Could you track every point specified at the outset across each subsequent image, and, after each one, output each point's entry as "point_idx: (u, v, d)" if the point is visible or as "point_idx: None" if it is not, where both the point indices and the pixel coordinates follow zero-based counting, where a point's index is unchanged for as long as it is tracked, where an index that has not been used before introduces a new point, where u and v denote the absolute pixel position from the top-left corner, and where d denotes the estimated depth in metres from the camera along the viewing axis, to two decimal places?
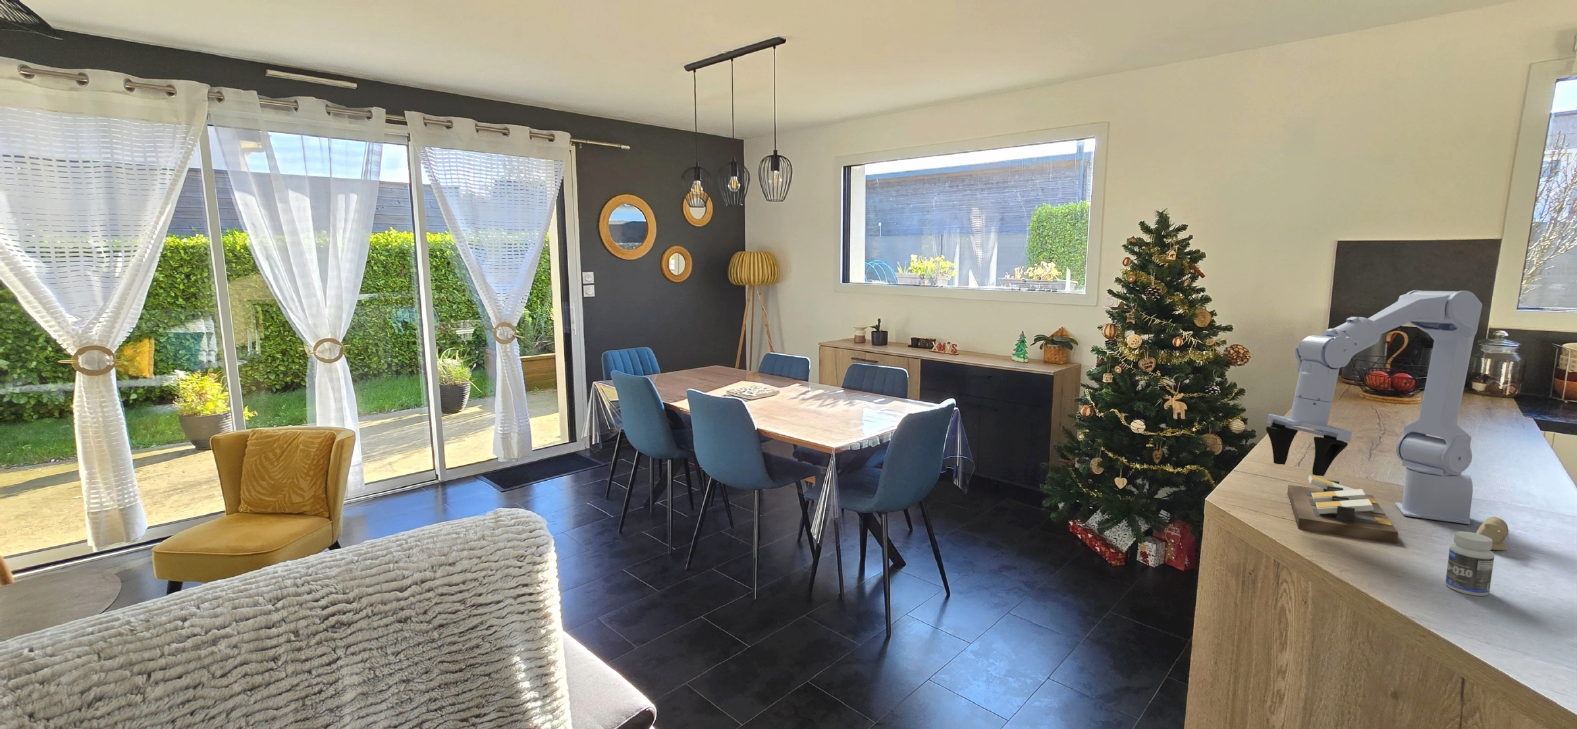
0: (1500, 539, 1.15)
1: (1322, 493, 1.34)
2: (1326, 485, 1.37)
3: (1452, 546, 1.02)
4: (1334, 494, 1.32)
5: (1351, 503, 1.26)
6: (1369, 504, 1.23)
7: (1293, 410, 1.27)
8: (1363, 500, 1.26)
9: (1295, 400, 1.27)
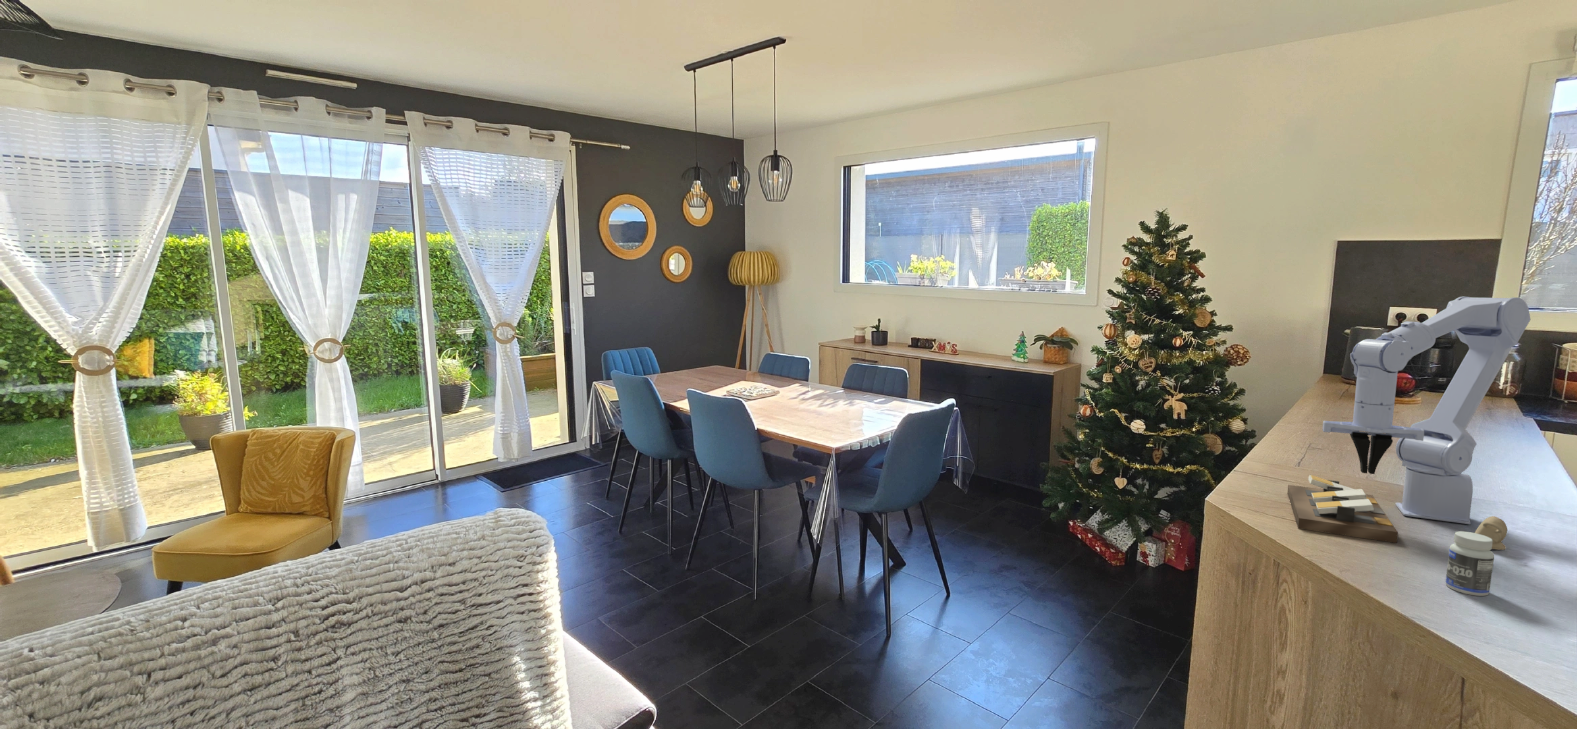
0: (1498, 538, 1.15)
1: (1322, 493, 1.34)
2: (1326, 485, 1.37)
3: (1452, 546, 1.02)
4: (1334, 494, 1.32)
5: (1351, 503, 1.26)
6: (1369, 504, 1.23)
7: (1366, 417, 1.27)
8: (1363, 500, 1.26)
9: (1367, 407, 1.27)
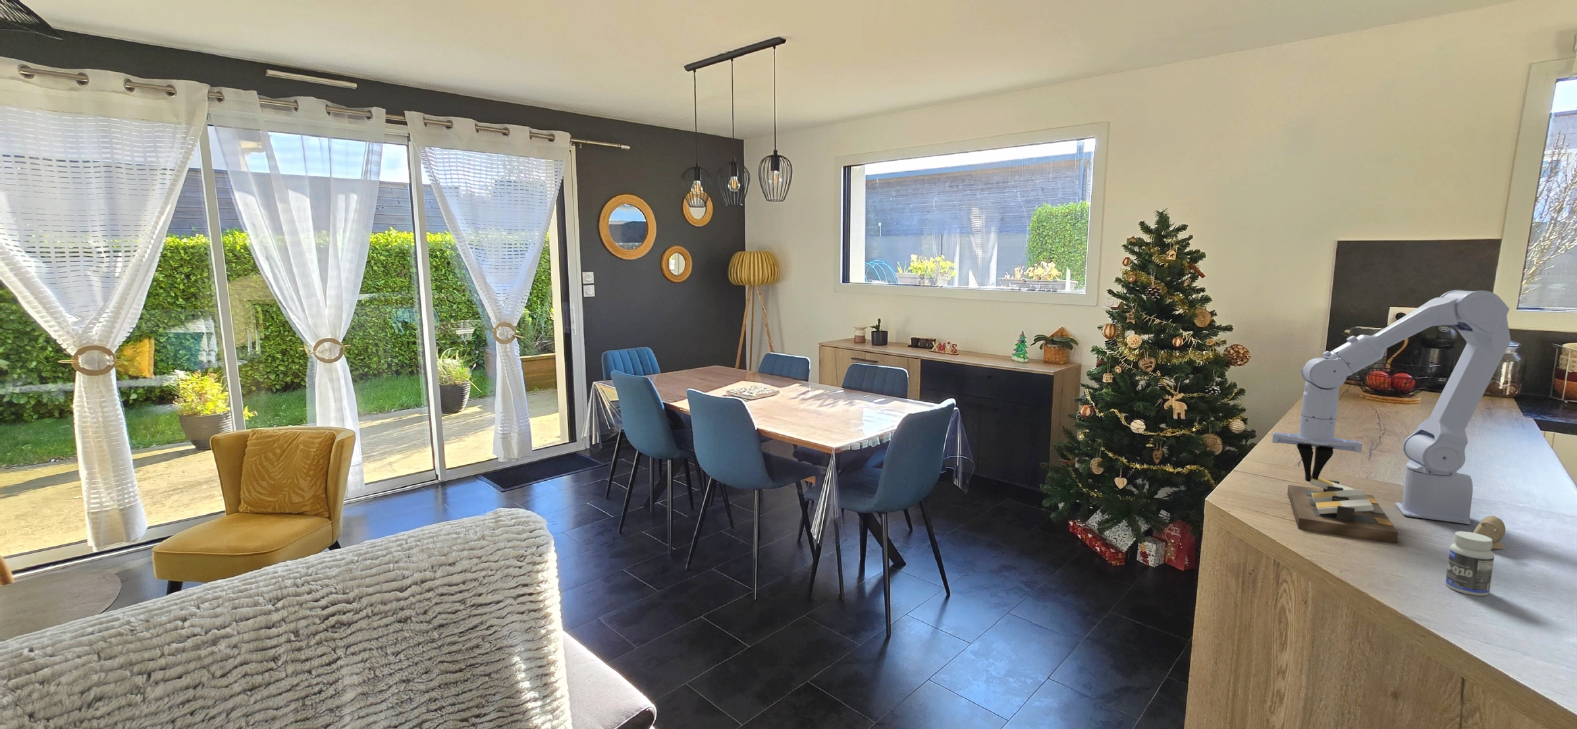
0: (1496, 538, 1.15)
1: (1322, 493, 1.34)
2: (1326, 485, 1.37)
3: (1452, 546, 1.02)
4: (1334, 494, 1.32)
5: (1351, 503, 1.26)
6: (1369, 504, 1.23)
7: (1310, 430, 1.37)
8: (1363, 500, 1.26)
9: (1311, 421, 1.37)
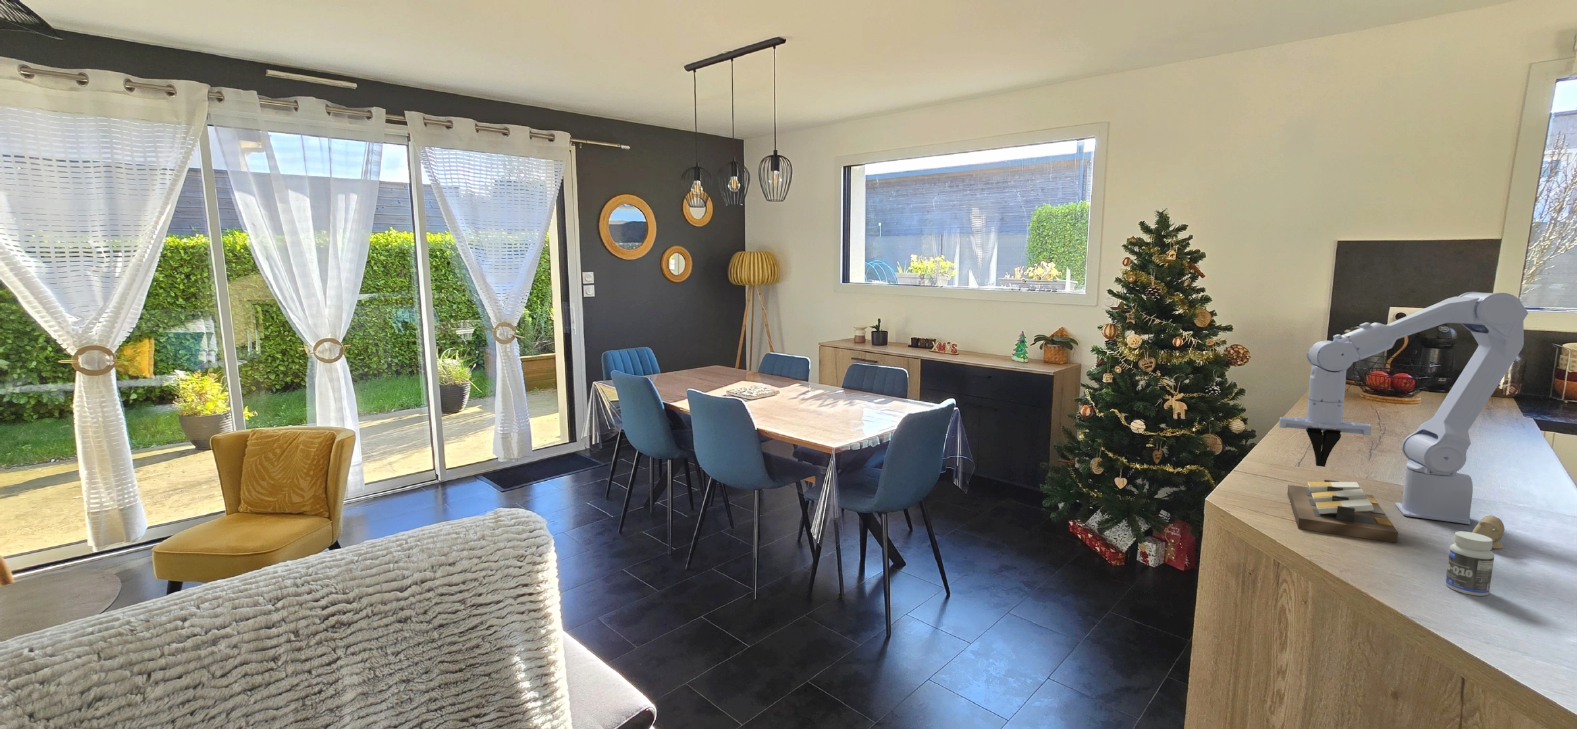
0: (1495, 537, 1.16)
1: (1322, 493, 1.34)
2: (1325, 488, 1.37)
3: (1452, 546, 1.02)
4: (1334, 494, 1.32)
5: (1351, 503, 1.26)
6: (1369, 504, 1.23)
7: (1318, 414, 1.36)
8: (1363, 500, 1.26)
9: (1319, 404, 1.35)
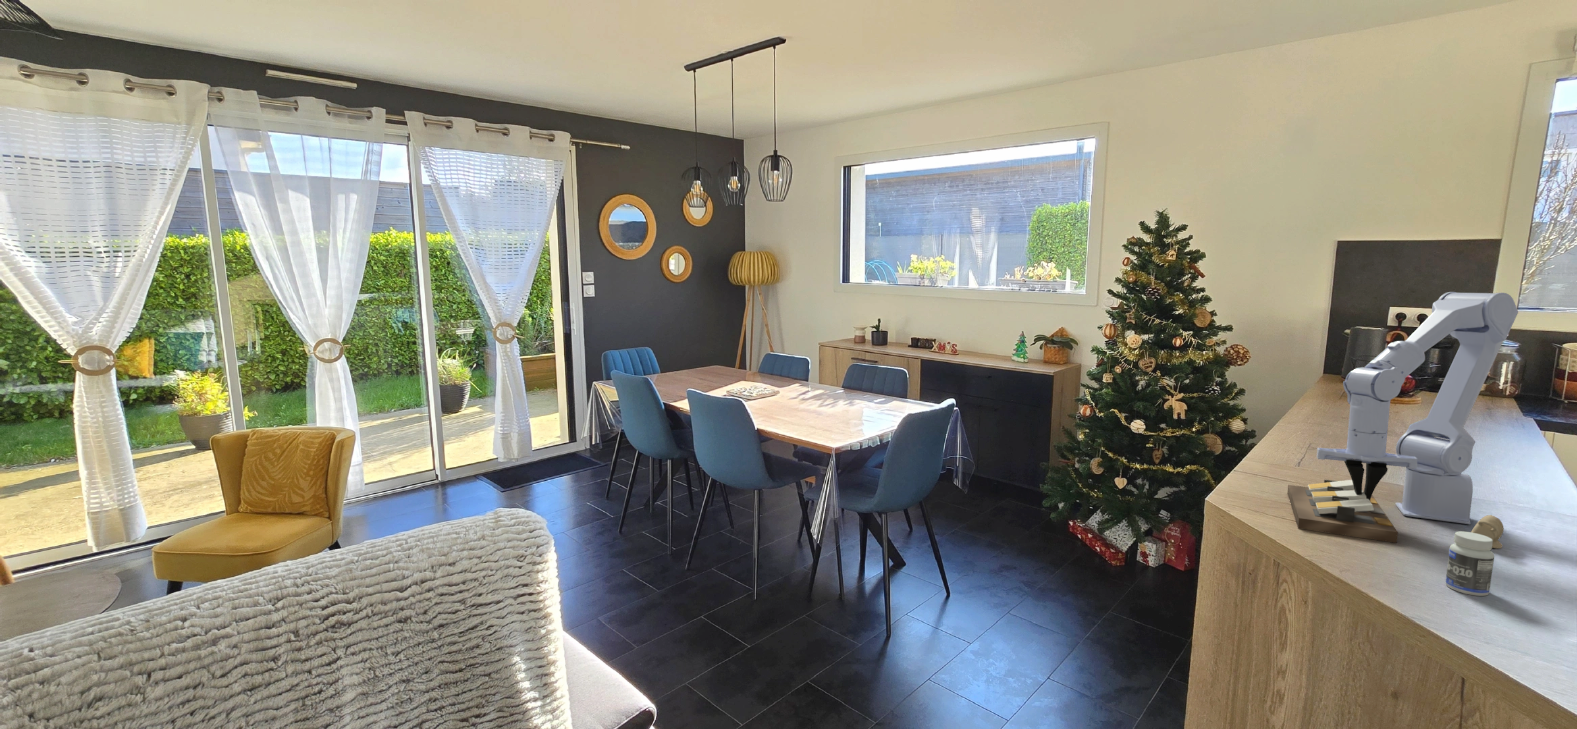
0: (1494, 537, 1.16)
1: (1322, 492, 1.34)
2: (1325, 489, 1.37)
3: (1452, 546, 1.02)
4: (1334, 494, 1.32)
5: (1351, 503, 1.26)
6: (1369, 504, 1.23)
7: (1360, 446, 1.28)
8: (1363, 500, 1.26)
9: (1361, 436, 1.28)
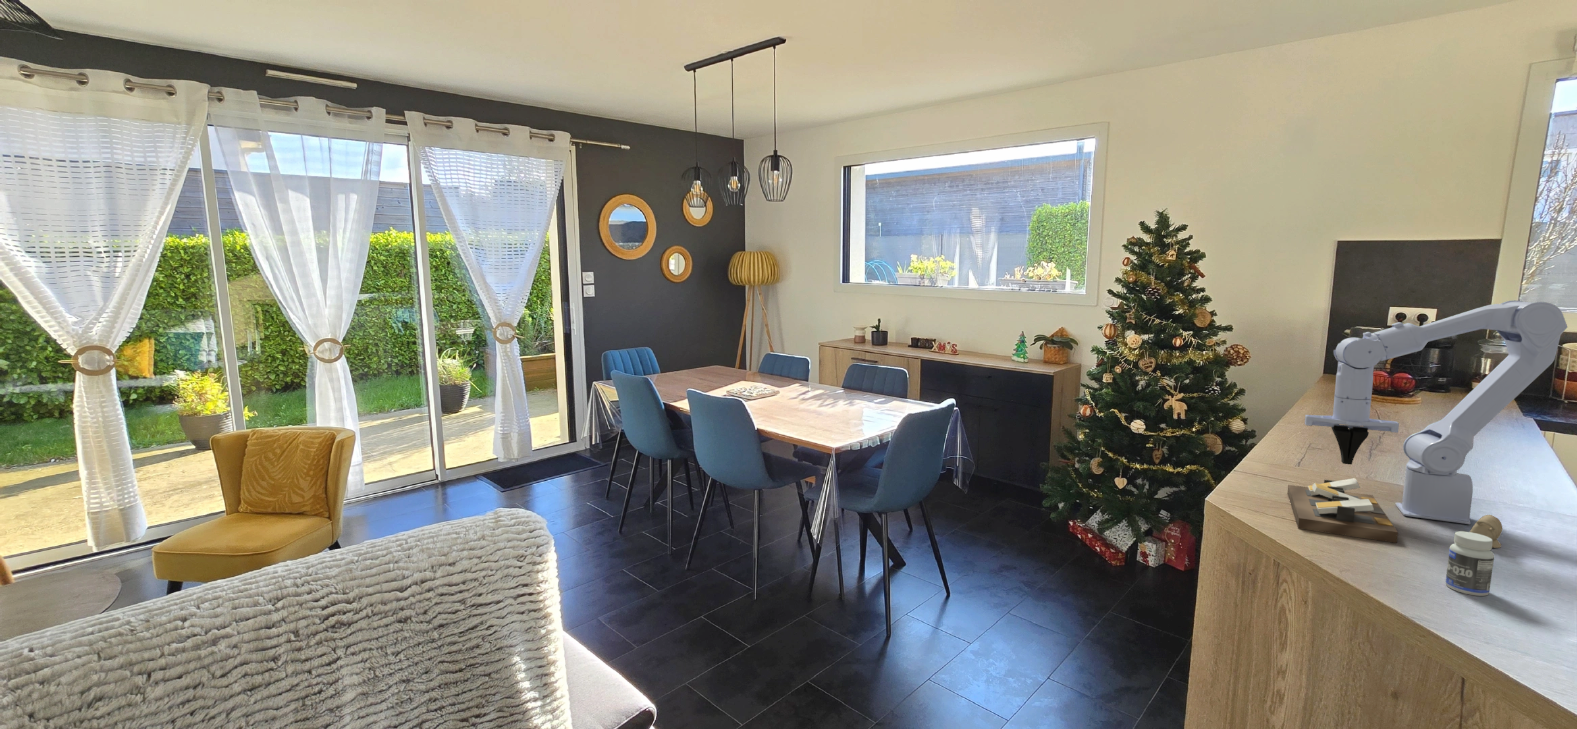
0: (1493, 537, 1.16)
1: (1325, 487, 1.34)
2: None
3: (1452, 546, 1.02)
4: (1336, 493, 1.32)
5: (1351, 503, 1.26)
6: (1369, 504, 1.23)
7: (1346, 411, 1.35)
8: (1363, 500, 1.26)
9: (1346, 402, 1.35)
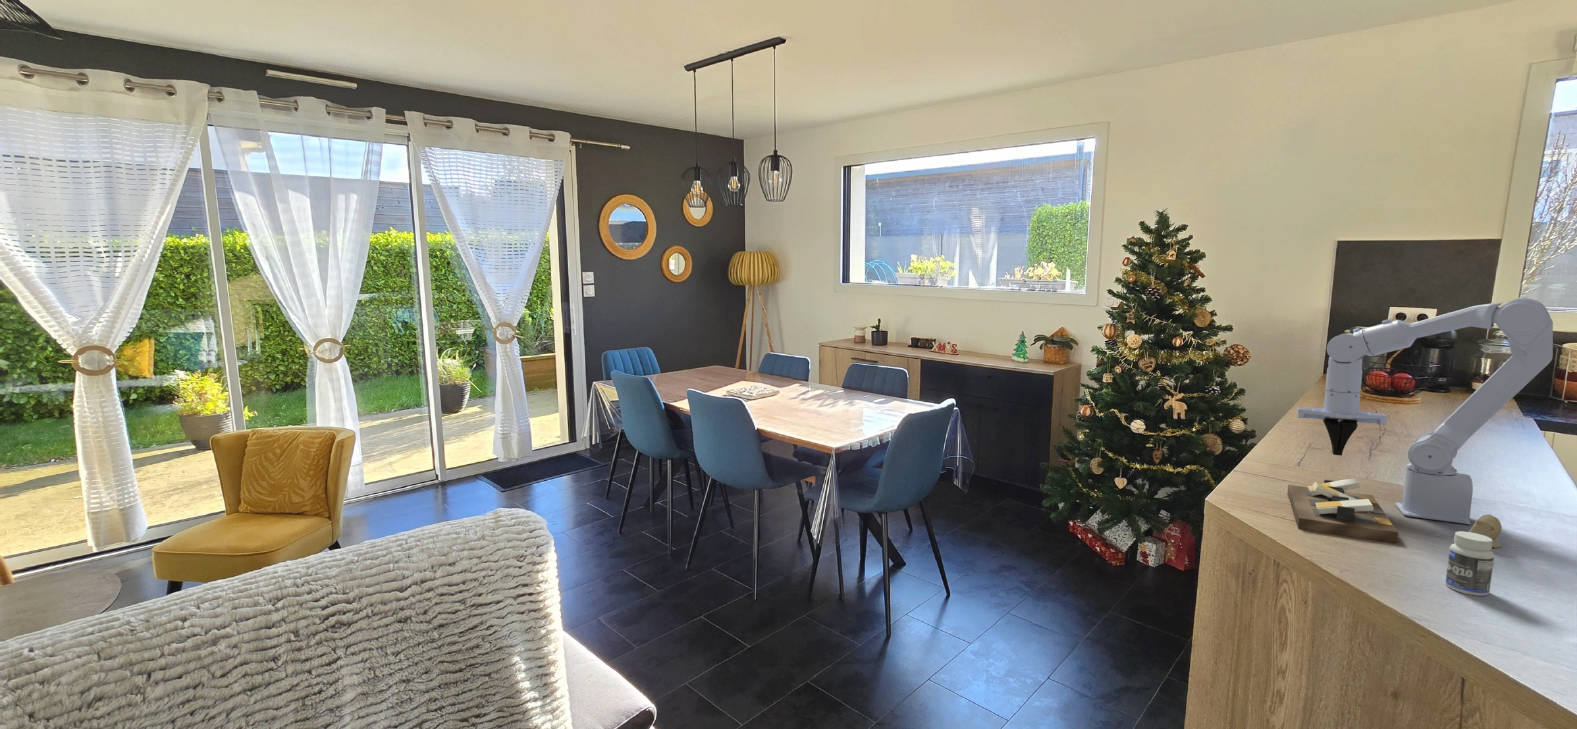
0: (1492, 536, 1.16)
1: (1325, 487, 1.34)
2: None
3: (1452, 546, 1.02)
4: (1337, 493, 1.32)
5: (1351, 503, 1.26)
6: (1369, 504, 1.23)
7: (1335, 404, 1.40)
8: (1363, 500, 1.26)
9: (1336, 395, 1.40)
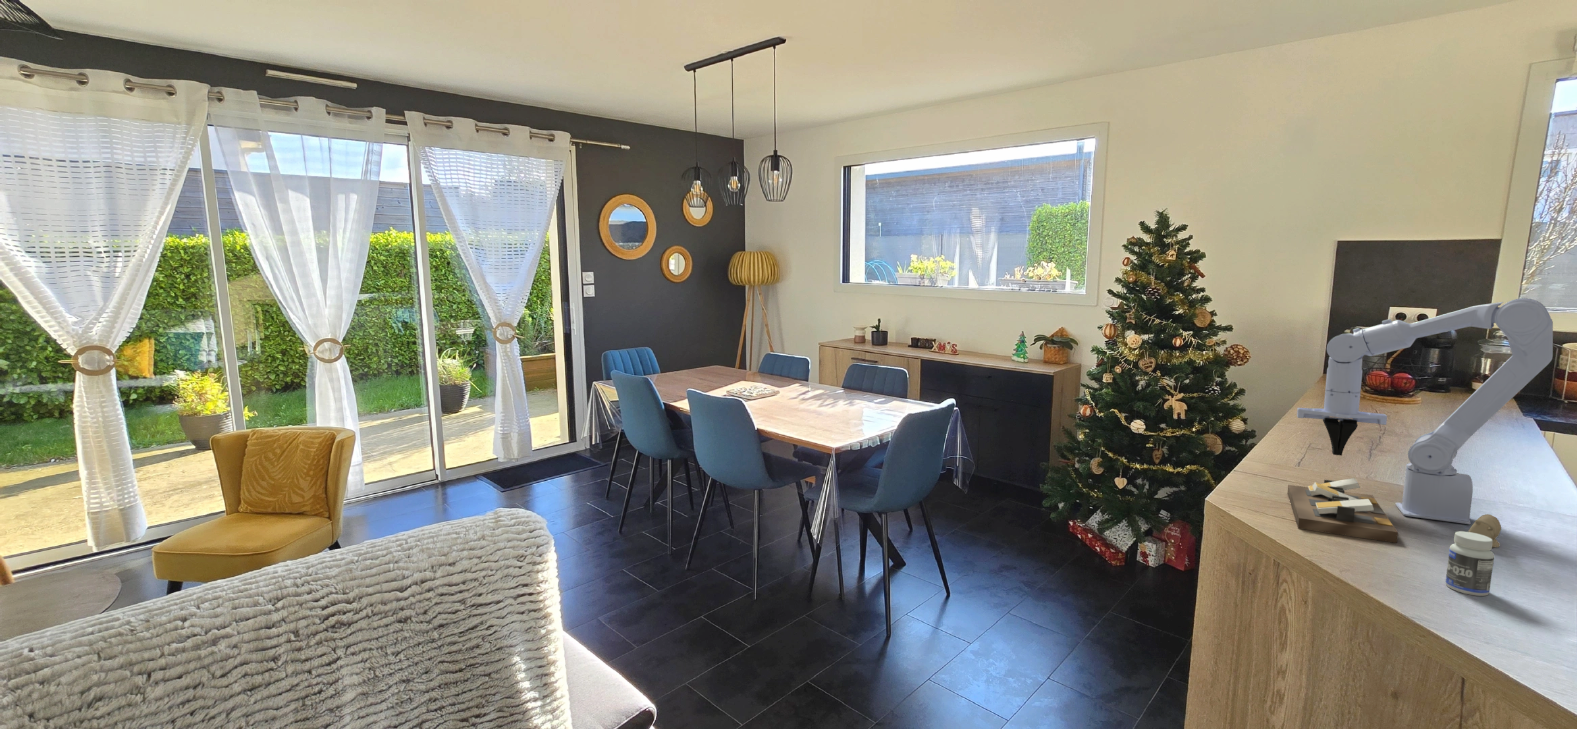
0: (1491, 536, 1.16)
1: (1325, 487, 1.34)
2: None
3: (1452, 546, 1.02)
4: (1337, 493, 1.32)
5: (1351, 503, 1.26)
6: (1369, 504, 1.23)
7: (1335, 404, 1.40)
8: (1363, 500, 1.26)
9: (1336, 395, 1.40)
